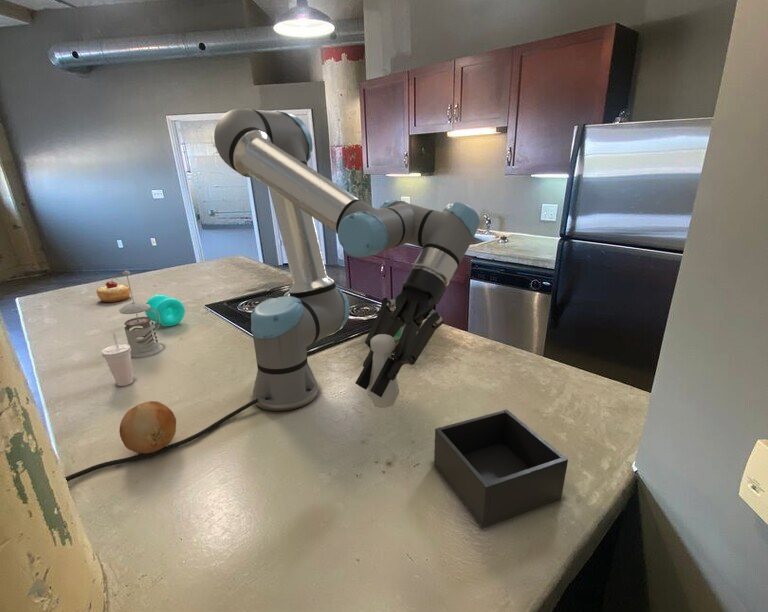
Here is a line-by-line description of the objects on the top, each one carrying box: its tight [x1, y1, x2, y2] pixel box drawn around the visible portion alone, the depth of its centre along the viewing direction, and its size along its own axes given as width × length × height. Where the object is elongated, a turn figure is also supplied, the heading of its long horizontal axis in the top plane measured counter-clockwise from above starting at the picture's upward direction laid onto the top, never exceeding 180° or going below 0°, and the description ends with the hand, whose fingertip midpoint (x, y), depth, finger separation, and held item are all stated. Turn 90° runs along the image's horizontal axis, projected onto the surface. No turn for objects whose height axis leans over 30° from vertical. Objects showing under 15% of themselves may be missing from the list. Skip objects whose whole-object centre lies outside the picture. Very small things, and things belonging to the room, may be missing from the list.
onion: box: [119, 400, 177, 454], centre depth 82 cm, size 10×10×10 cm
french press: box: [118, 270, 164, 358], centre depth 123 cm, size 10×12×25 cm
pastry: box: [95, 277, 131, 303], centre depth 174 cm, size 12×12×9 cm
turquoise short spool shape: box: [144, 294, 186, 327], centre depth 146 cm, size 10×10×10 cm
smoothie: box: [101, 331, 134, 387], centre depth 106 cm, size 6×6×14 cm
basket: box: [433, 409, 569, 529], centre depth 72 cm, size 16×16×8 cm
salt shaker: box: [366, 334, 400, 409], centre depth 74 cm, size 6×6×13 cm
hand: (368, 390), depth 72 cm, fingers closed on salt shaker, 3 cm apart
